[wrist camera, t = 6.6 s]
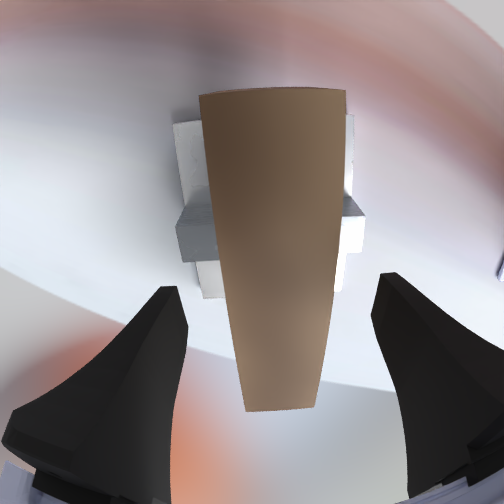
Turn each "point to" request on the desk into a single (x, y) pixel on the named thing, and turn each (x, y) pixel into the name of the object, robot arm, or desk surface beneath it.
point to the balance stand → (201, 214)
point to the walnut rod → (277, 231)
